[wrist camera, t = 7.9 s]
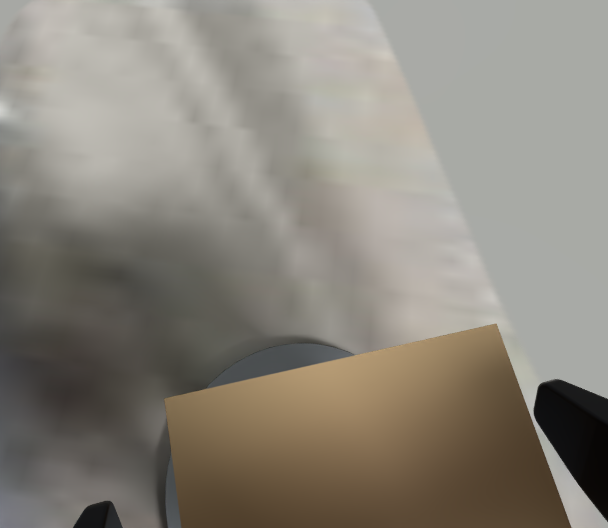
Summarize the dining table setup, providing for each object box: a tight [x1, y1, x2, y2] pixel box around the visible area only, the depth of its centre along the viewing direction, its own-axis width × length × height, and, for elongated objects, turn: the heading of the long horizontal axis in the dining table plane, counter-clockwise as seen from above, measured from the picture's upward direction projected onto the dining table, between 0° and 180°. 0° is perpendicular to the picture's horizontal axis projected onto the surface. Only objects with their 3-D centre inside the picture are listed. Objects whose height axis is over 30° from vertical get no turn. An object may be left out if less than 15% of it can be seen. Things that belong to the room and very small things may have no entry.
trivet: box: [165, 343, 355, 528], centre depth 17 cm, size 10×10×1 cm
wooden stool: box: [164, 324, 571, 528], centre depth 12 cm, size 6×6×10 cm
